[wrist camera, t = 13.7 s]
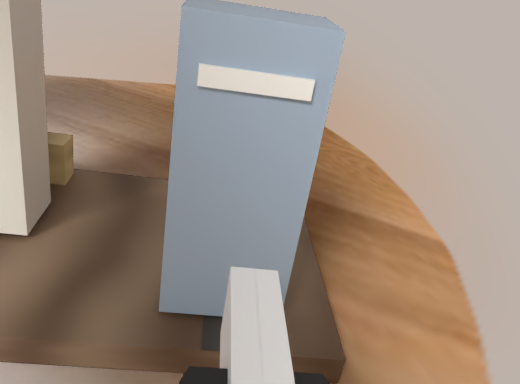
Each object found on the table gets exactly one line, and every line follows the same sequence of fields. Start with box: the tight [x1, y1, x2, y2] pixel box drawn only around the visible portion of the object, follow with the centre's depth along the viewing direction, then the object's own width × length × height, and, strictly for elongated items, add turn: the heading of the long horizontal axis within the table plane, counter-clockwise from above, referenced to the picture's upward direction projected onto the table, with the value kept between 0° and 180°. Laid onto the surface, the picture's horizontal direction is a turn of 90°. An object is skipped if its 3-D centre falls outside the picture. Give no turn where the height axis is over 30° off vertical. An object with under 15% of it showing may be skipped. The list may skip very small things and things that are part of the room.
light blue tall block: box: [159, 0, 346, 317], centre depth 22 cm, size 6×4×14 cm
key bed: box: [0, 132, 345, 382], centre depth 28 cm, size 26×17×4 cm, turn 93°
